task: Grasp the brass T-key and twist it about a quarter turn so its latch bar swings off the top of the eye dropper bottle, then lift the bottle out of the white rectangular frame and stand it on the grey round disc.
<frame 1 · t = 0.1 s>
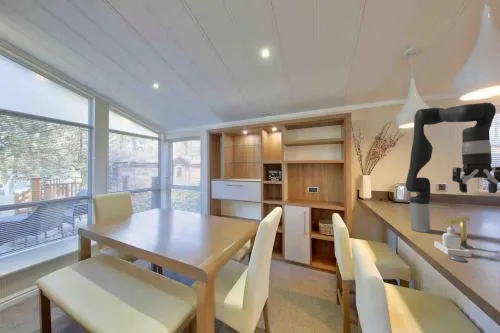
hand: (477, 192, 75), 29 cm above the table, fingers open, 8 cm apart
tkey: (457, 232, 90), point 8 cm above the table, hinge at 0.0°
grey round disc: (457, 259, 80), on the table
eye dropper bottle: (451, 251, 87), resting in white rectangular frame
key plate: (464, 246, 92), on the table
white rectangular frame: (451, 251, 87), on the table
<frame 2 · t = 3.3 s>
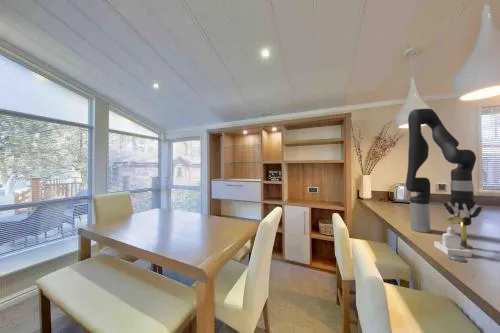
hand: (463, 224, 92), 11 cm above the table, fingers closed on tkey, 2 cm apart
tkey: (457, 232, 90), point 8 cm above the table, hinge at 0.0°, touching gripper
everything else where it was.
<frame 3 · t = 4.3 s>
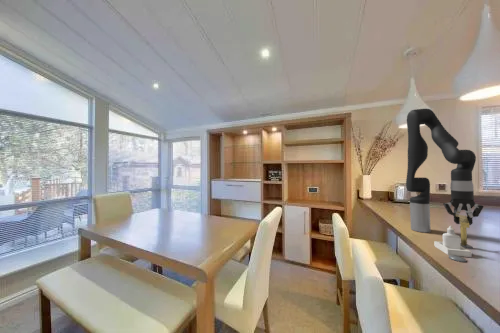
hand: (463, 224, 92), 11 cm above the table, fingers closed on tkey, 3 cm apart
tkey: (464, 233, 88), point 8 cm above the table, hinge at 20.7°, touching gripper
everything else where it was.
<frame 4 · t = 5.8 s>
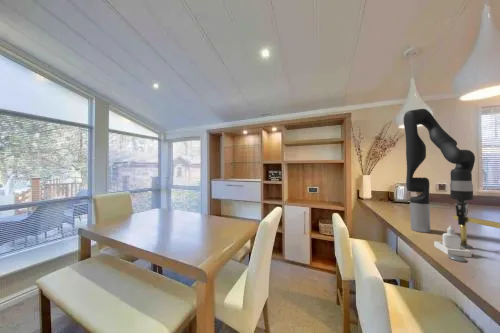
hand: (462, 223, 92), 11 cm above the table, fingers open, 4 cm apart
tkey: (480, 234, 86), point 8 cm above the table, hinge at 78.0°
everything else where it was.
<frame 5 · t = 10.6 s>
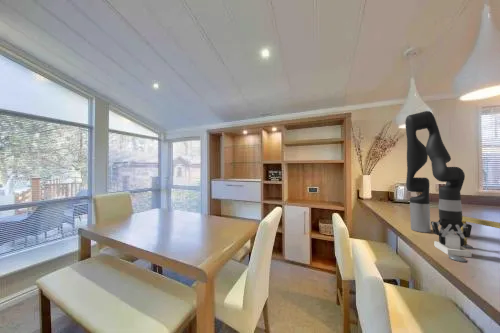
hand: (451, 244, 87), 3 cm above the table, fingers closed on eye dropper bottle, 5 cm apart
eye dropper bottle: (451, 251, 87), resting in white rectangular frame, touching gripper
everything else where it was.
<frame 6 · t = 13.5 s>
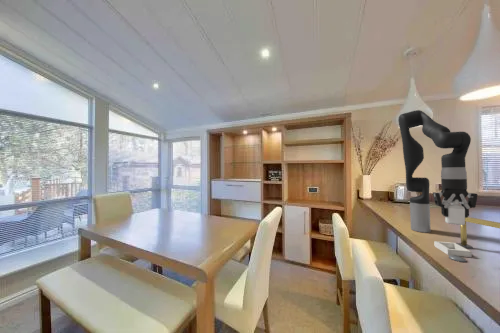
hand: (455, 216, 80), 18 cm above the table, fingers closed on eye dropper bottle, 5 cm apart
eye dropper bottle: (454, 224, 80), point 15 cm above the table, touching gripper
everything else where it was.
when the fingers open (4 cm above the table, at t = 16.4 s): eye dropper bottle stays where it is, resting on grey round disc.
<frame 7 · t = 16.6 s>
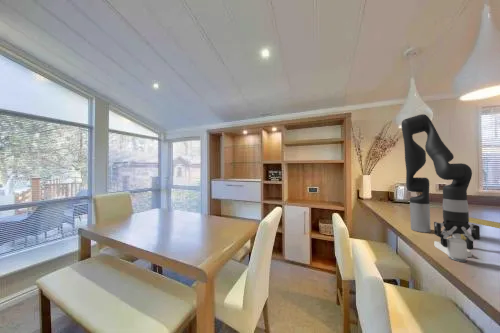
hand: (456, 247, 80), 5 cm above the table, fingers open, 7 cm apart
eye dropper bottle: (457, 258, 80), resting on grey round disc
everything else where it was.
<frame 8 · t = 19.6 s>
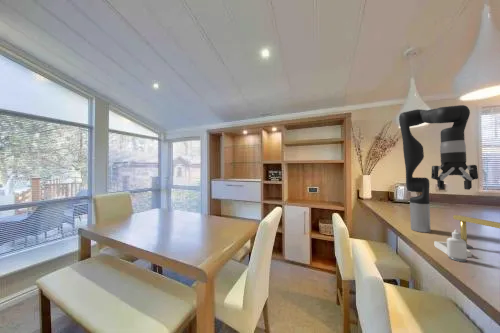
hand: (454, 189, 80), 30 cm above the table, fingers open, 8 cm apart
nothing on the table moved.
at the end: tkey at +78° (first picture: +0°); eye dropper bottle 0.1 cm from the grey round disc (horizontally); eye dropper bottle tilted 0° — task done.
